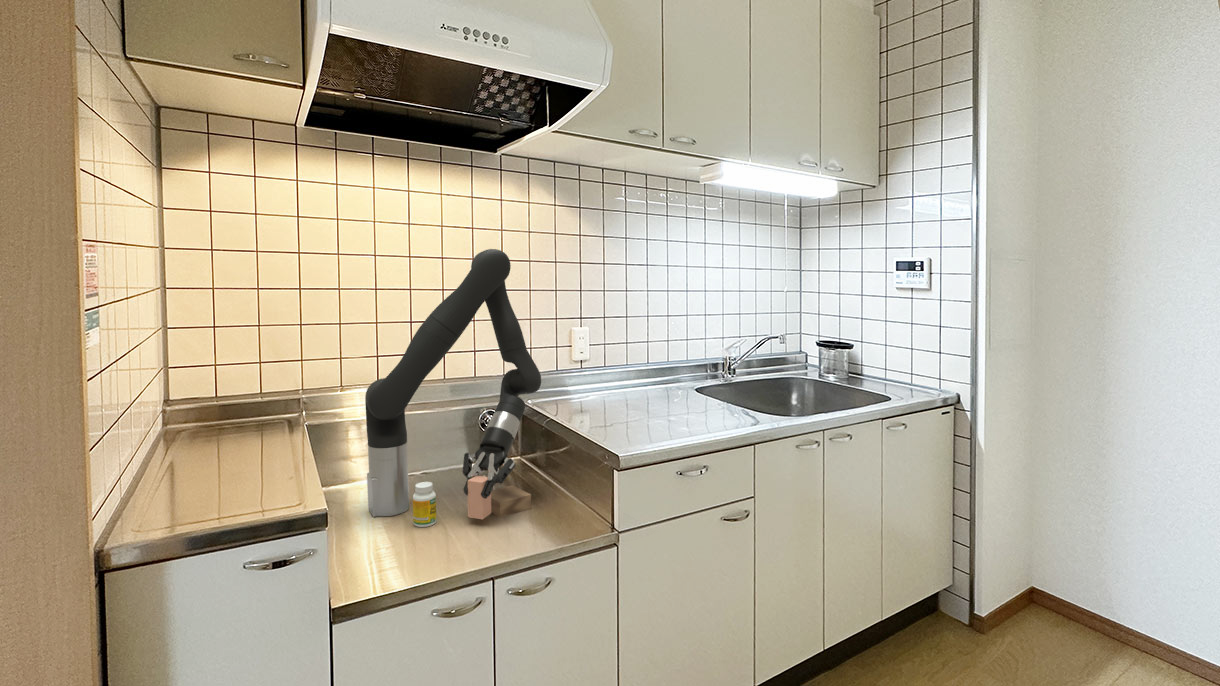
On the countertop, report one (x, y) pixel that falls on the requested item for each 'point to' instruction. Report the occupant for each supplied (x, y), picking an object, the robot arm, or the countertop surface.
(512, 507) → the walnut block
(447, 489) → the countertop surface
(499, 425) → the robot arm
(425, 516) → the supplement bottle
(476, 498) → the salmon pink block
